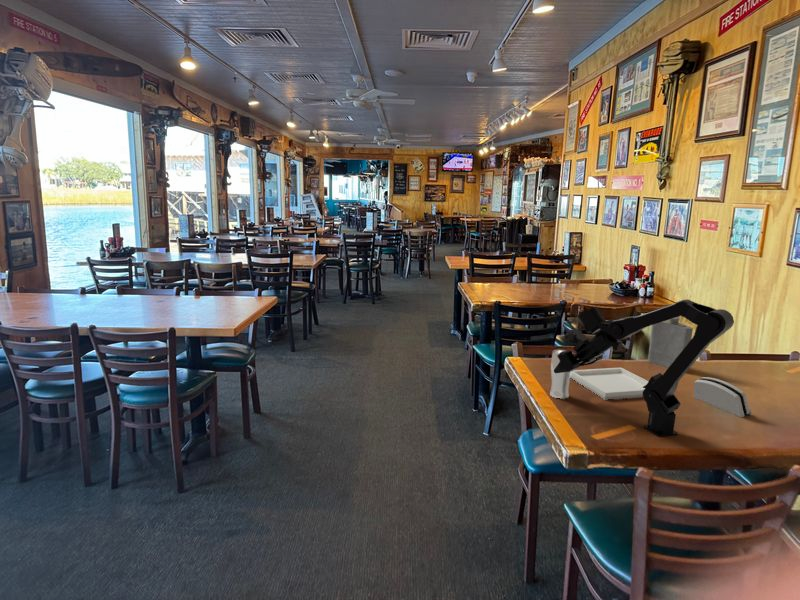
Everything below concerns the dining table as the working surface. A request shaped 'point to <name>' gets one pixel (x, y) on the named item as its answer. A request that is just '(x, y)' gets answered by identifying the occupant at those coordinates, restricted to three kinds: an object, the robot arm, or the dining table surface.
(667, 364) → the hip flask
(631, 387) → the serving tray
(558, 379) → the beer glass
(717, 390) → the grey half-round block
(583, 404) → the dining table surface
